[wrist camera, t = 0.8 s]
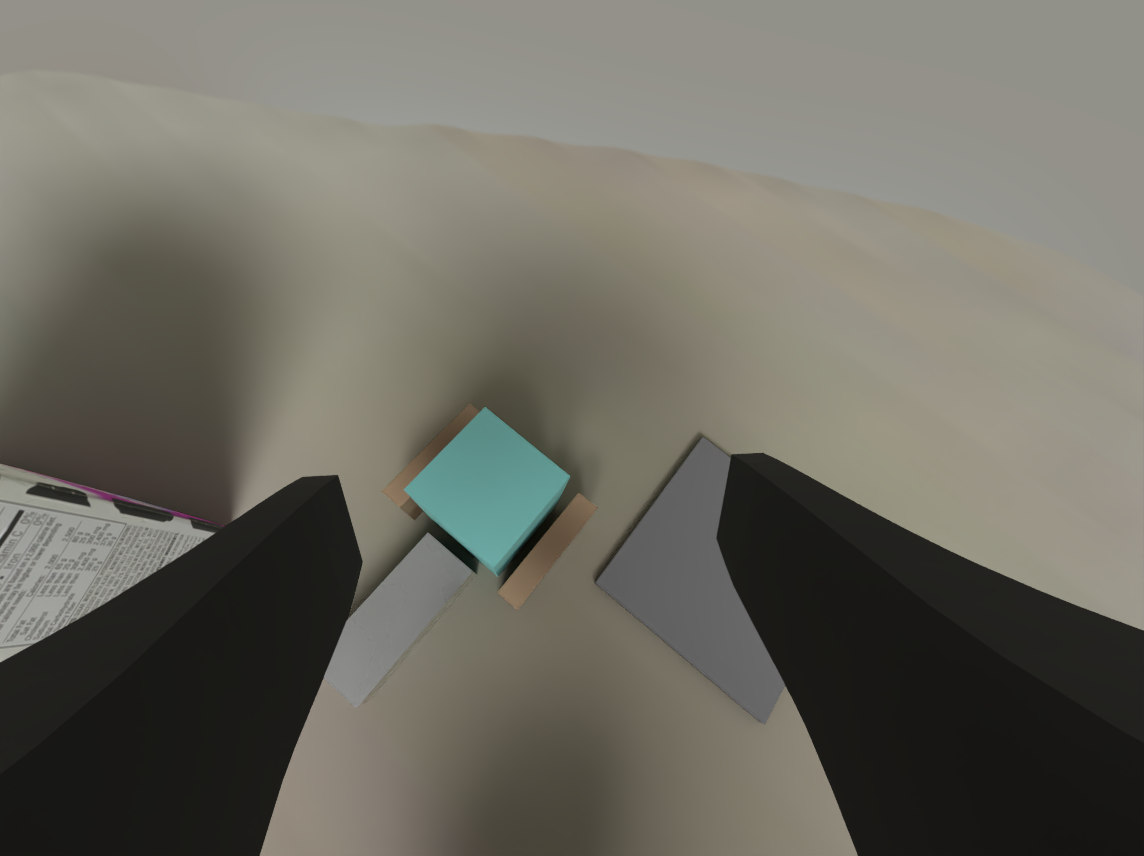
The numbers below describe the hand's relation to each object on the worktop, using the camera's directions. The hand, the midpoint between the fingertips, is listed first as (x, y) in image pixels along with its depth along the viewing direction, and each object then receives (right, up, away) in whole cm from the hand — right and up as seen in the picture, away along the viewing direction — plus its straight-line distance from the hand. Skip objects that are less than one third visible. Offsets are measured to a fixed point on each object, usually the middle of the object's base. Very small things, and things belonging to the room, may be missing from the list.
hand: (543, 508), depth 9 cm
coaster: (+8, -5, +13) cm, 16 cm away
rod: (-6, -6, +11) cm, 14 cm away
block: (-3, -2, +13) cm, 13 cm away
